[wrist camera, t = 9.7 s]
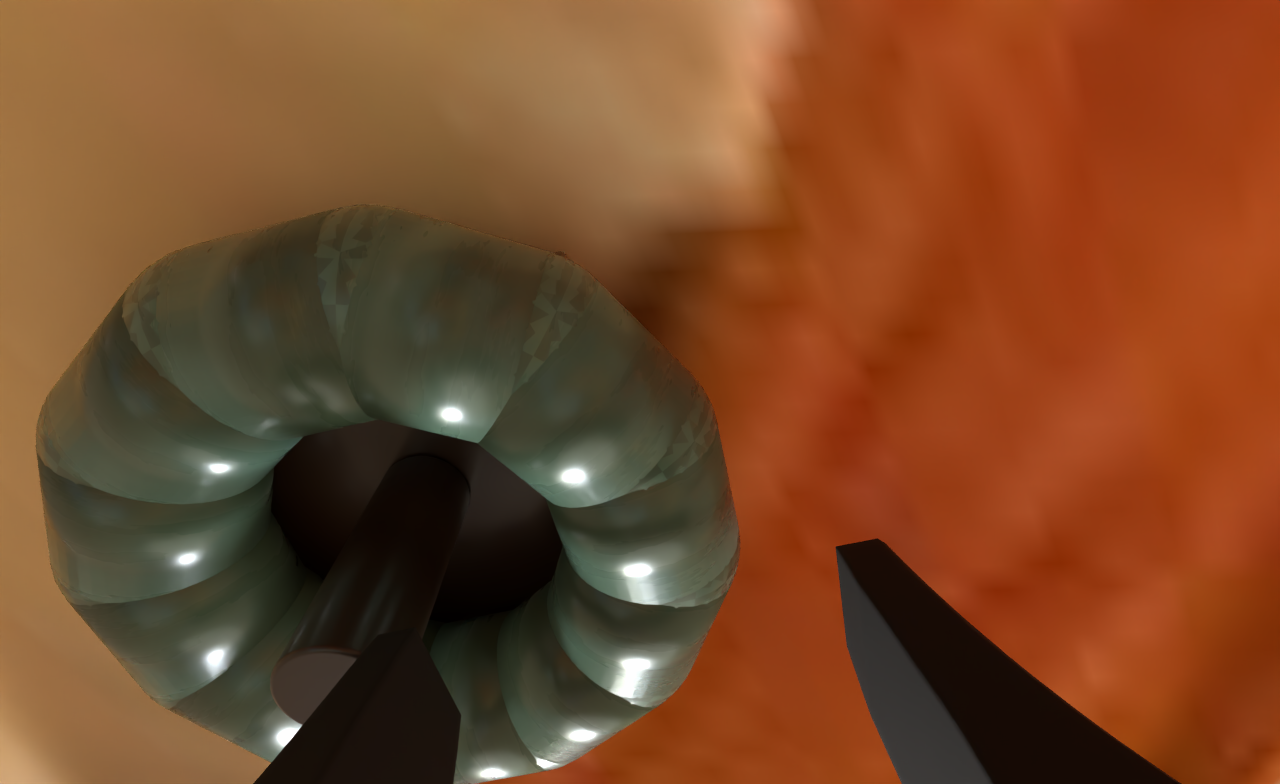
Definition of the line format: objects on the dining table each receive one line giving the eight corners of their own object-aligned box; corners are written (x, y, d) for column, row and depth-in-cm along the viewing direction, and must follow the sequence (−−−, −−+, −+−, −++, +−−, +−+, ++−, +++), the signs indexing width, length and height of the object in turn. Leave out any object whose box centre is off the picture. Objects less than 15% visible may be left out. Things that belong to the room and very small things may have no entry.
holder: (342, 630, 18) (213, 891, 12) (171, 340, 14) (-137, 527, 8) (654, 569, 18) (672, 816, 12) (565, 249, 14) (525, 382, 8)
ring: (300, 723, 18) (234, 861, 15) (-8, 288, 13) (-222, 361, 9) (758, 636, 17) (790, 764, 14) (651, 120, 12) (663, 139, 8)
